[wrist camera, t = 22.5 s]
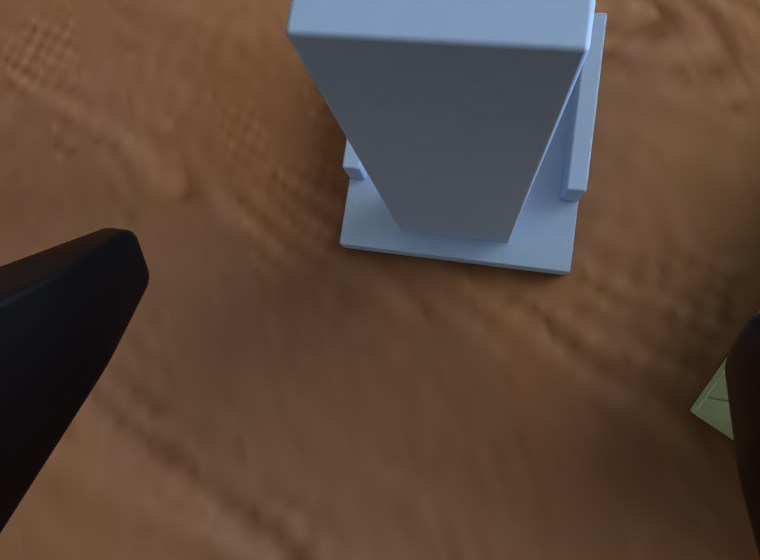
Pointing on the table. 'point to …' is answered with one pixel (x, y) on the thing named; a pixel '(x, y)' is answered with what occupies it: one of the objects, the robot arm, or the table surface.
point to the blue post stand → (459, 122)
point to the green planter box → (715, 403)
